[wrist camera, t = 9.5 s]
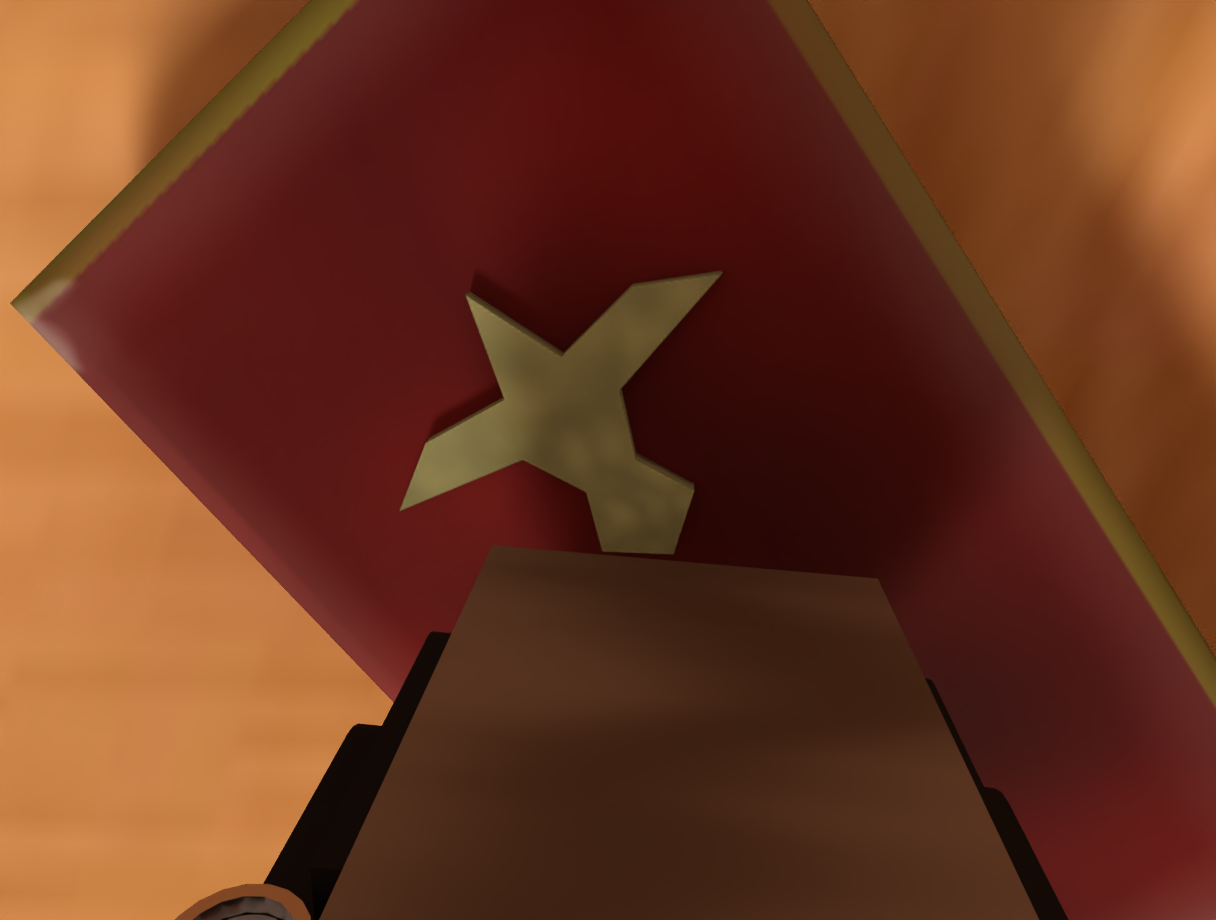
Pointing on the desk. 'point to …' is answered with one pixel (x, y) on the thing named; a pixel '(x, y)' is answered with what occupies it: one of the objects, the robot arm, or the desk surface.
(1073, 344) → the desk surface
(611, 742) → the walnut block
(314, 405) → the hardcover book
